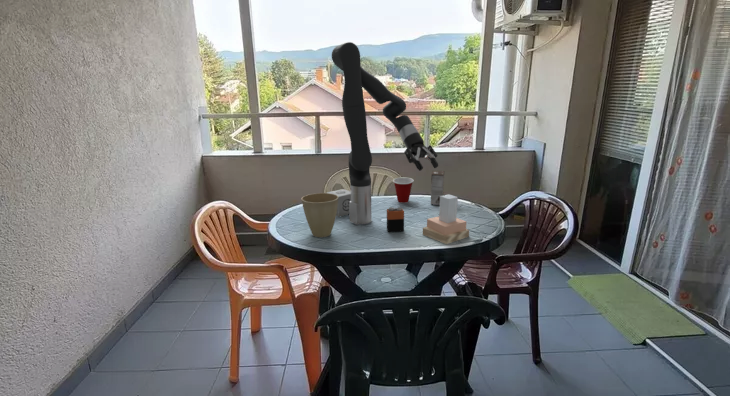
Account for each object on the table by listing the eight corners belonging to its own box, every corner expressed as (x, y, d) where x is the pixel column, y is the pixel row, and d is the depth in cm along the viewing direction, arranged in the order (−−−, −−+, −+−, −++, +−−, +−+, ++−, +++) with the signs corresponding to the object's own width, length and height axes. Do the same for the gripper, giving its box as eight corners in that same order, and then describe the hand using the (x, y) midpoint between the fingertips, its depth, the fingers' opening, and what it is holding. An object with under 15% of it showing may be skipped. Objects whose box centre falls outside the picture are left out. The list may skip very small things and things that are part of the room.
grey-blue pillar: (447, 223, 147) (448, 199, 144) (438, 219, 151) (440, 196, 148) (456, 220, 150) (457, 197, 147) (447, 217, 153) (448, 194, 151)
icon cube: (343, 208, 189) (343, 188, 187) (355, 212, 182) (355, 192, 179) (327, 212, 183) (326, 192, 181) (338, 217, 176) (338, 196, 173)
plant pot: (346, 236, 153) (344, 198, 148) (312, 244, 145) (309, 205, 141) (330, 225, 165) (329, 190, 161) (298, 232, 158) (296, 195, 154)
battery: (386, 228, 160) (386, 206, 157) (402, 228, 161) (402, 205, 158) (388, 232, 156) (388, 209, 153) (404, 231, 156) (404, 209, 154)
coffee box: (431, 199, 201) (432, 170, 196) (443, 200, 200) (444, 170, 195) (430, 204, 192) (431, 174, 188) (443, 205, 191) (444, 174, 186)
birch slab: (446, 245, 143) (446, 237, 142) (422, 235, 153) (422, 227, 153) (468, 238, 150) (469, 229, 149) (444, 229, 161) (445, 221, 160)
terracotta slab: (444, 235, 144) (445, 226, 143) (426, 227, 154) (427, 218, 153) (466, 229, 149) (466, 221, 148) (447, 222, 159) (447, 214, 158)
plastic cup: (390, 203, 195) (390, 181, 192) (395, 198, 205) (395, 176, 202) (410, 205, 192) (411, 182, 188) (415, 199, 201) (415, 177, 198)
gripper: (402, 133, 152) (421, 165, 147) (428, 130, 160) (446, 160, 154) (394, 144, 158) (411, 175, 152) (419, 141, 166) (436, 171, 160)
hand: (429, 168), depth 153 cm, fingers open, 8 cm apart
